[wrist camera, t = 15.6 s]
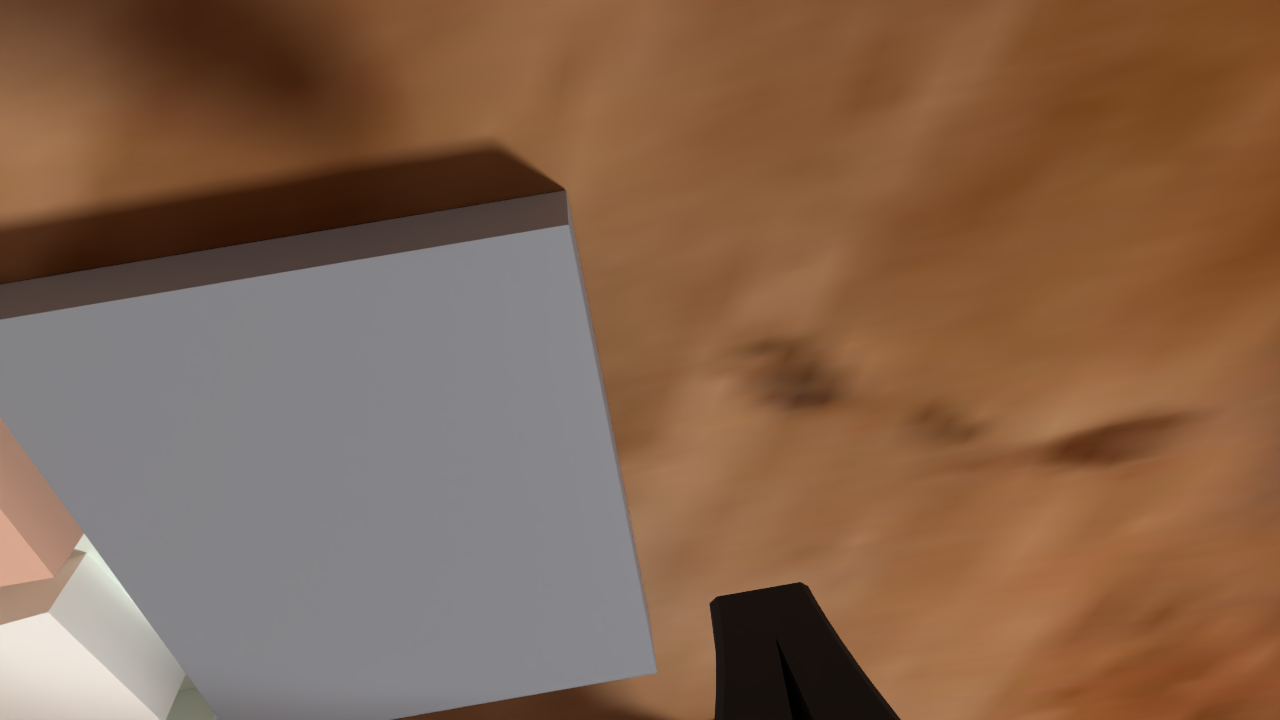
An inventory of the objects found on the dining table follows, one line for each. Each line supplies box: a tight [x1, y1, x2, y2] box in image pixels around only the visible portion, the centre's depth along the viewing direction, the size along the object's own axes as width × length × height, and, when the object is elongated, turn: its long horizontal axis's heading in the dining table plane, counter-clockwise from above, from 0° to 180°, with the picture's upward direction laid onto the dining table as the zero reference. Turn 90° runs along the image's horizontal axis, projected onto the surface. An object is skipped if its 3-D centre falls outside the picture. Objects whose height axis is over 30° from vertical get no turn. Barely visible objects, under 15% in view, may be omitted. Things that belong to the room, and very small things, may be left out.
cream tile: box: [0, 553, 186, 720], centre depth 22 cm, size 5×5×2 cm
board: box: [0, 190, 657, 720], centre depth 21 cm, size 15×13×2 cm
